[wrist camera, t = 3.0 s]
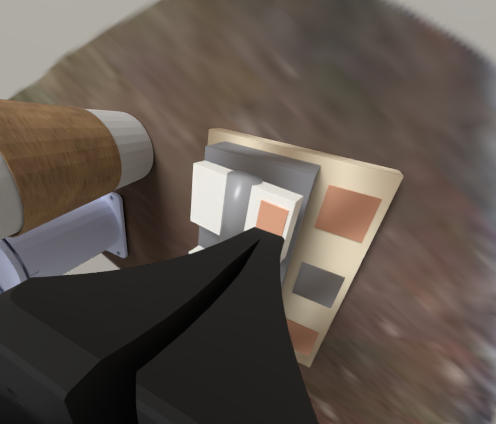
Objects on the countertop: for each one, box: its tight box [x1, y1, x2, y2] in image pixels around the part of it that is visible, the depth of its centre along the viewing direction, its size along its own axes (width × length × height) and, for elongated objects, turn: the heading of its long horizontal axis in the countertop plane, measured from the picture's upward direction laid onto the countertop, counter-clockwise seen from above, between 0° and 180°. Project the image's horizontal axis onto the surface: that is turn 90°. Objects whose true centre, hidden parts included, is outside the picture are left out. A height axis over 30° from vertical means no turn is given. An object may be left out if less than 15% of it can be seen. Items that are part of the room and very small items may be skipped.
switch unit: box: [198, 128, 404, 368], centre depth 18 cm, size 12×18×4 cm, turn 170°
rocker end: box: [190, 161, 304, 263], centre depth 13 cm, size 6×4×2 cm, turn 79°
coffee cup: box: [0, 99, 154, 240], centre depth 15 cm, size 8×8×15 cm
